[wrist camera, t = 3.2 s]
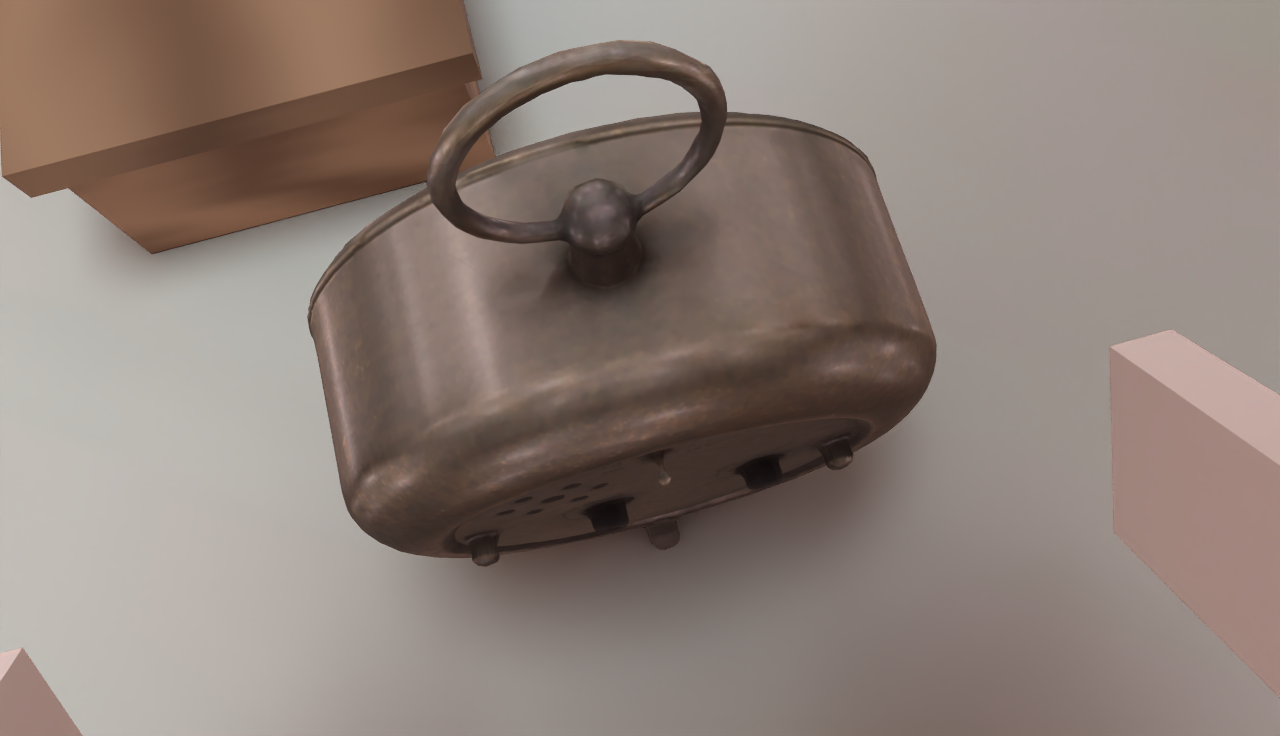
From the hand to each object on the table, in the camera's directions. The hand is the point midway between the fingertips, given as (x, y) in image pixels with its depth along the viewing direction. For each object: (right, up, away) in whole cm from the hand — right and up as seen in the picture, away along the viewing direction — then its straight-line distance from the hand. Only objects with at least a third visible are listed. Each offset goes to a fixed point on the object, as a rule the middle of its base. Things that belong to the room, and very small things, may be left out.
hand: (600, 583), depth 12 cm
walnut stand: (-10, +12, +17) cm, 23 cm away
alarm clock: (+1, 0, +13) cm, 13 cm away
